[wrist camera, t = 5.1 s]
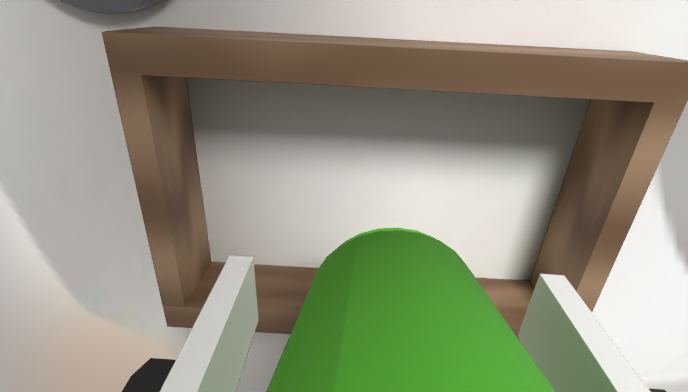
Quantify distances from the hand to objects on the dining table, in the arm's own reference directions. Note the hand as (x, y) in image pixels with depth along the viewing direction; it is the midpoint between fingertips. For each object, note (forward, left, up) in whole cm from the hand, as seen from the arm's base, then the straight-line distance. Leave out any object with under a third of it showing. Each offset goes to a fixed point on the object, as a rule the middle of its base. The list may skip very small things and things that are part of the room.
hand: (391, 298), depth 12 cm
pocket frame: (0, 0, -9) cm, 9 cm away
